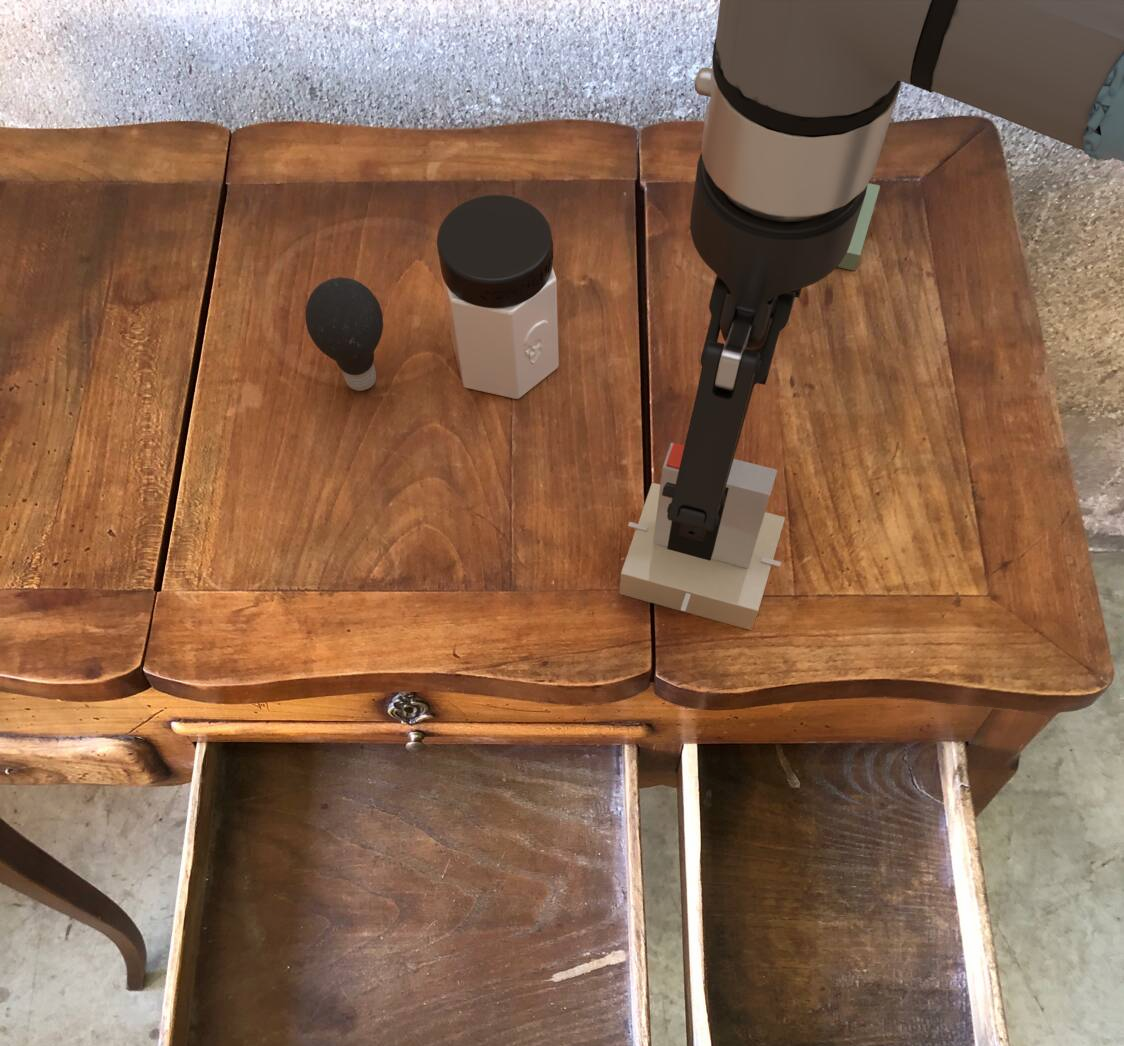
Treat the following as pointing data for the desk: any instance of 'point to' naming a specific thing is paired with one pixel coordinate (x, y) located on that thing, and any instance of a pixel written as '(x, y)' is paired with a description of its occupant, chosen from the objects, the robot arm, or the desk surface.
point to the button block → (860, 229)
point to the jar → (500, 293)
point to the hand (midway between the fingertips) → (719, 460)
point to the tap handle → (725, 508)
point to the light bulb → (346, 327)
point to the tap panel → (698, 573)
